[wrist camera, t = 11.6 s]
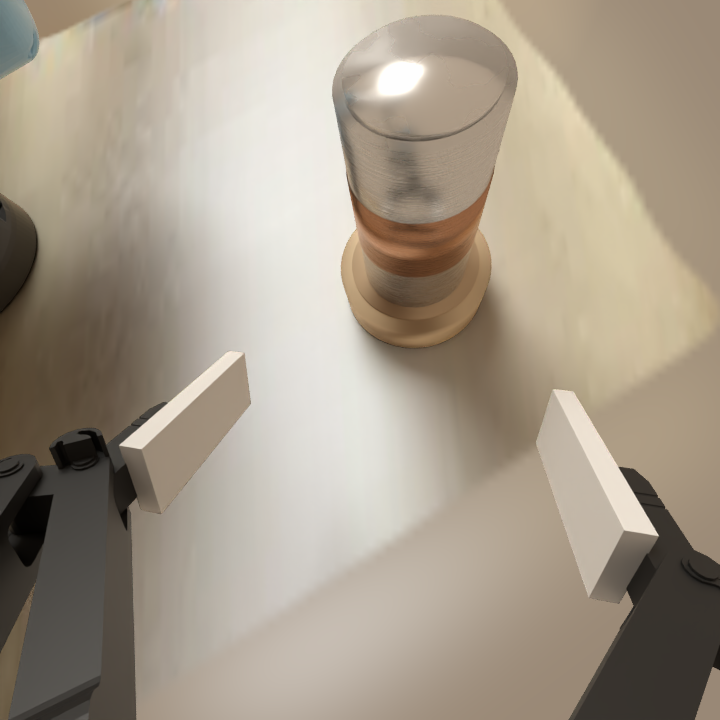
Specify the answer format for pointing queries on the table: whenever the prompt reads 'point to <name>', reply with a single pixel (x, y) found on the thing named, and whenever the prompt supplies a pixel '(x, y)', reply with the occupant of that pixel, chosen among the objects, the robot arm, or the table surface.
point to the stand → (419, 322)
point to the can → (422, 147)
